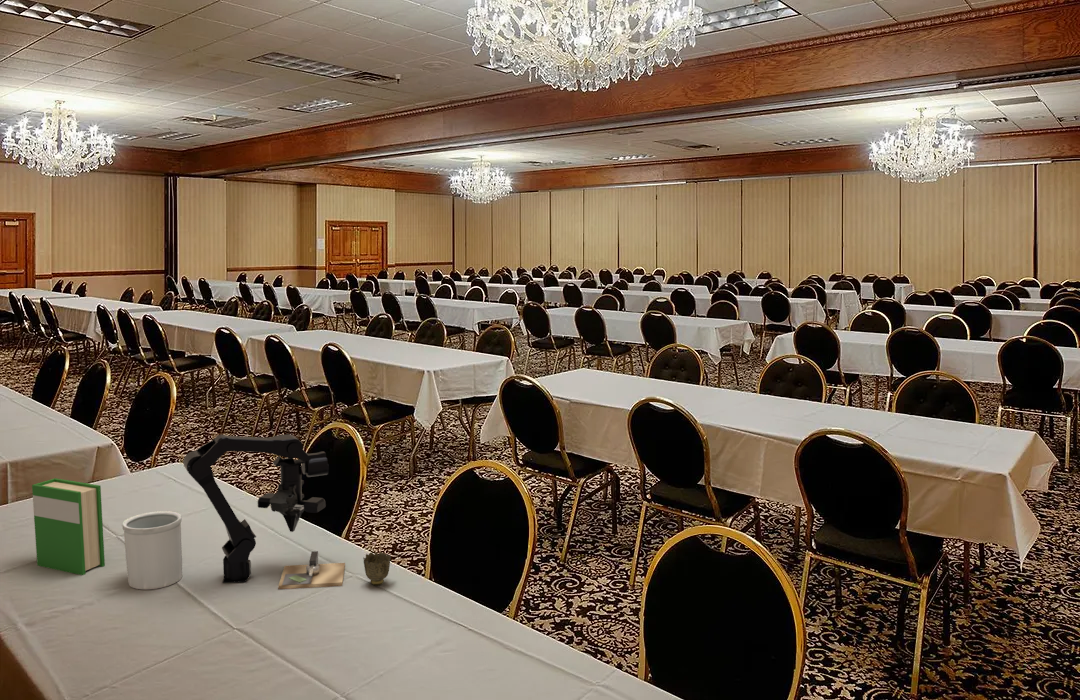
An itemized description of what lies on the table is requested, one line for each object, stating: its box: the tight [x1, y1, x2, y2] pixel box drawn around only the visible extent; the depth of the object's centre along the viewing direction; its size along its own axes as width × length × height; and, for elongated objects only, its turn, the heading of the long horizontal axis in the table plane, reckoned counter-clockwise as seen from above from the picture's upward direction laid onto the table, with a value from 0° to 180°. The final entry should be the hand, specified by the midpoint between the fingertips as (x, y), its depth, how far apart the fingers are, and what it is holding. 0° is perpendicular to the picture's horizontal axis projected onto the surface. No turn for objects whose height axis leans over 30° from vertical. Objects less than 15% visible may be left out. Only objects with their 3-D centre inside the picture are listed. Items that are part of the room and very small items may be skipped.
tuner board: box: [277, 562, 346, 590], centre depth 234 cm, size 17×14×1 cm
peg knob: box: [306, 550, 320, 576], centre depth 234 cm, size 14×4×3 cm, turn 10°
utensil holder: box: [121, 510, 183, 590], centre depth 229 cm, size 15×15×18 cm
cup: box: [362, 551, 392, 587], centre depth 230 cm, size 8×7×8 cm
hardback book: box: [31, 477, 106, 576], centre depth 238 cm, size 18×7×24 cm, turn 70°
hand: (292, 531), depth 239 cm, fingers closed
